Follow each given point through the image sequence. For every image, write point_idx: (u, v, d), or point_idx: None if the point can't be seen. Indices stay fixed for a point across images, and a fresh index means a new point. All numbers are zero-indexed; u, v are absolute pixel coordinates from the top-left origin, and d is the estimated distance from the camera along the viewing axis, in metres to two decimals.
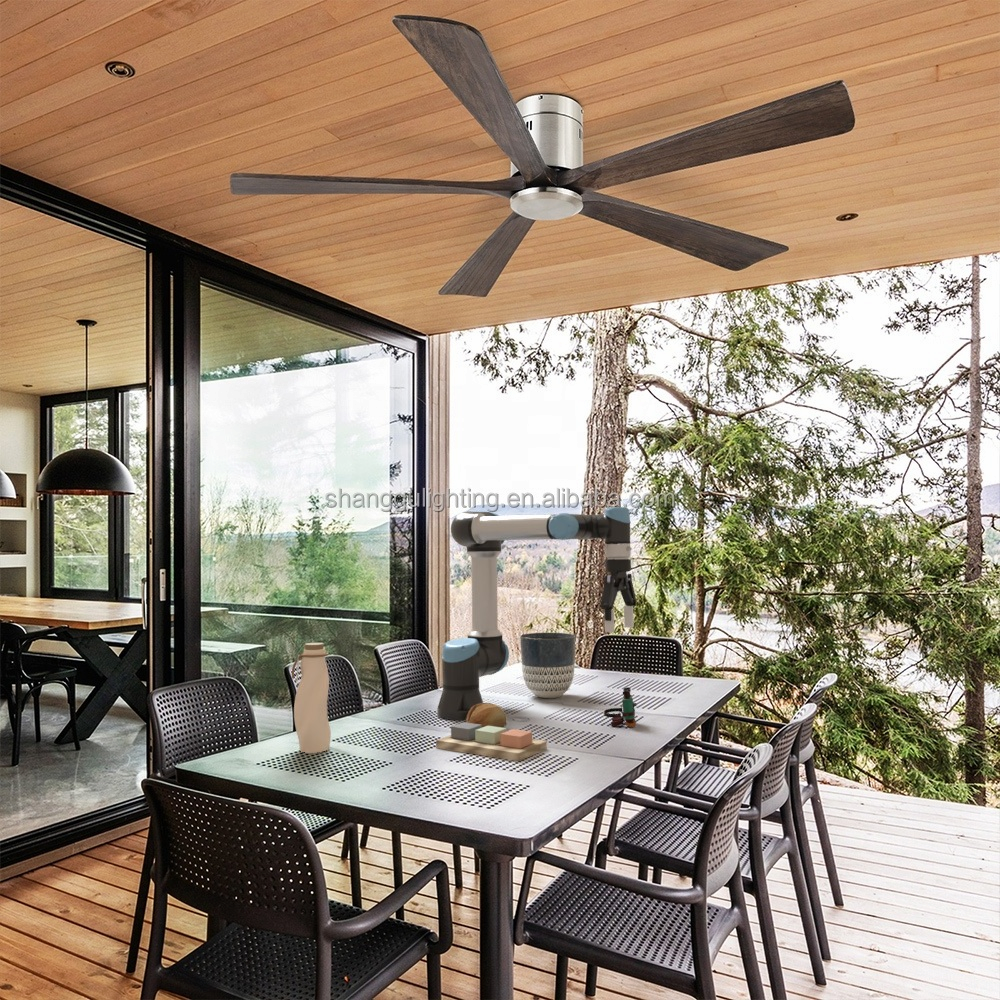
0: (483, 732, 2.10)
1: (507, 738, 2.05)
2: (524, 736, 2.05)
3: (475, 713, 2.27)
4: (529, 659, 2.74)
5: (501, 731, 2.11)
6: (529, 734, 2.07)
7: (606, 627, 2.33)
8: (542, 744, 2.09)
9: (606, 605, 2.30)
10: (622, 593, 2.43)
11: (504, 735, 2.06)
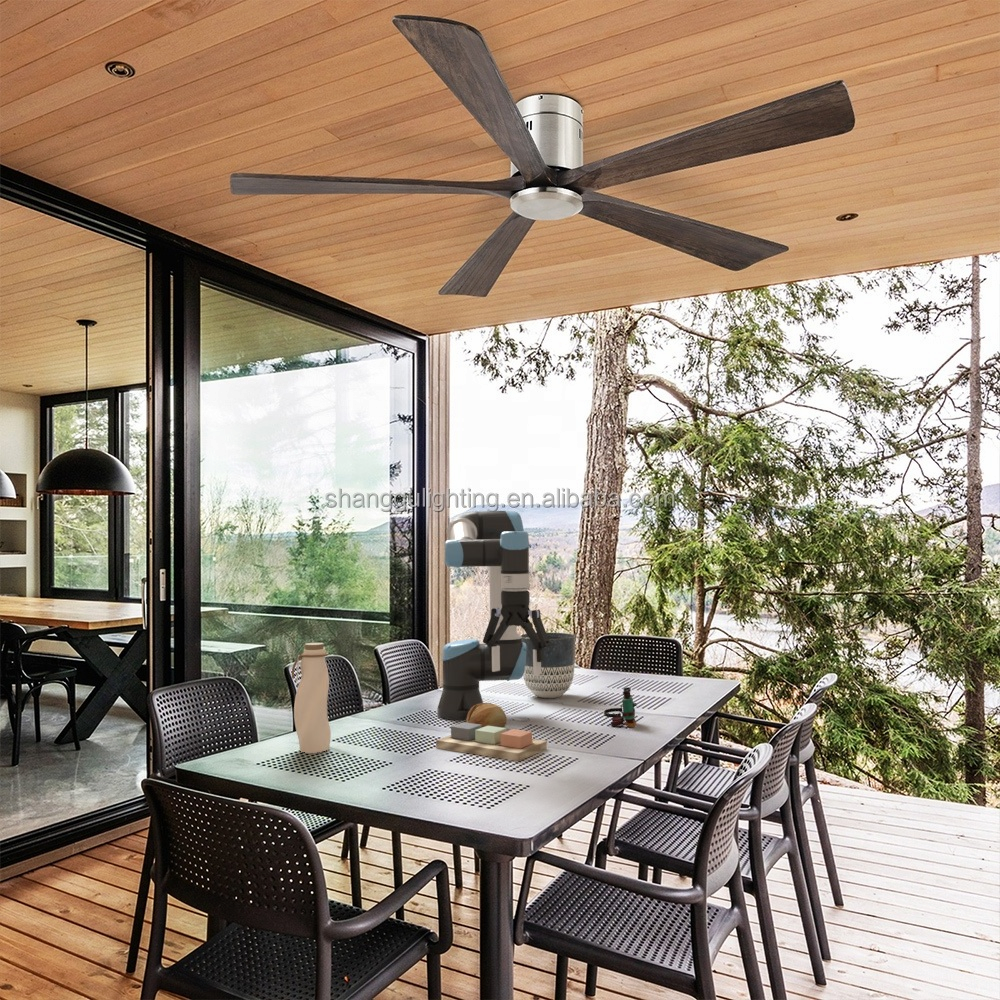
0: (483, 732, 2.10)
1: (507, 738, 2.05)
2: (524, 736, 2.05)
3: (475, 713, 2.27)
4: (529, 659, 2.74)
5: (501, 731, 2.11)
6: (529, 734, 2.07)
7: None
8: (542, 744, 2.09)
9: None
10: None
11: (504, 735, 2.06)
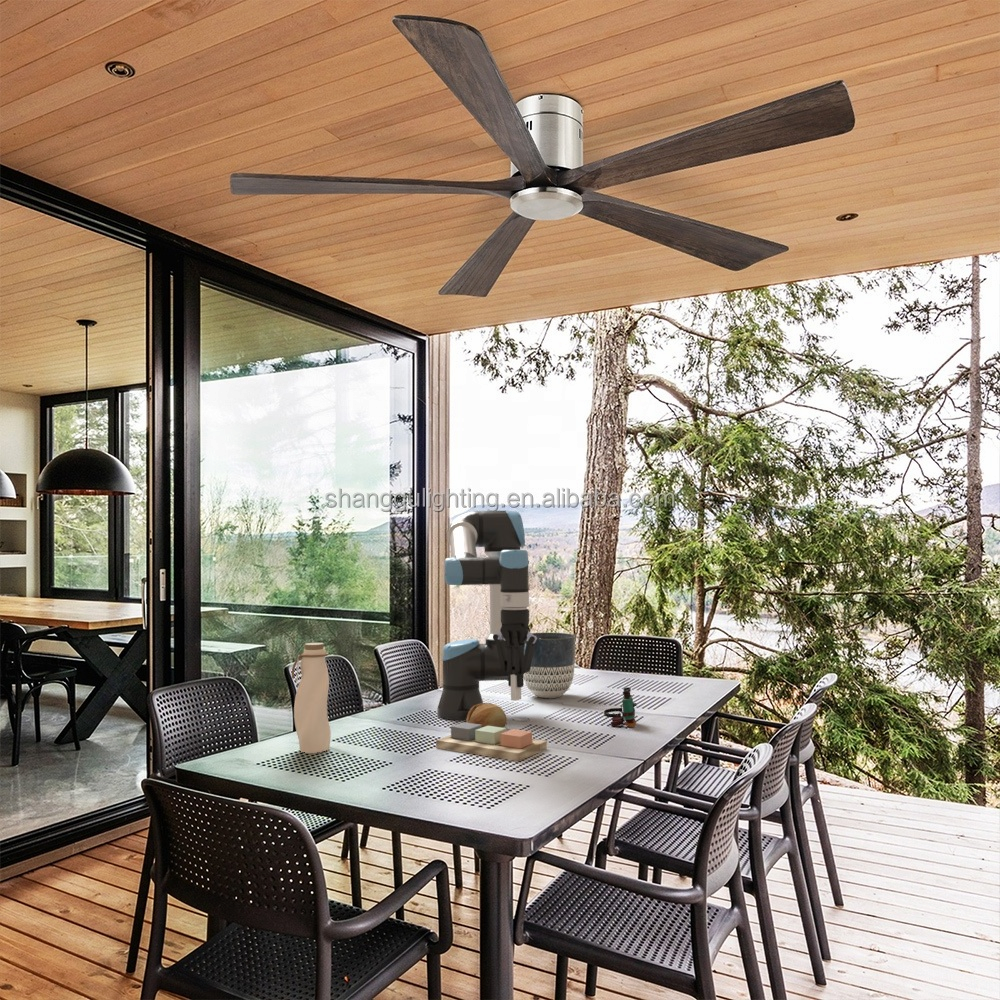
0: (483, 732, 2.10)
1: (507, 738, 2.05)
2: (524, 736, 2.05)
3: (475, 713, 2.27)
4: None
5: (501, 731, 2.11)
6: (529, 734, 2.07)
7: None
8: (542, 744, 2.09)
9: None
10: None
11: (504, 735, 2.06)
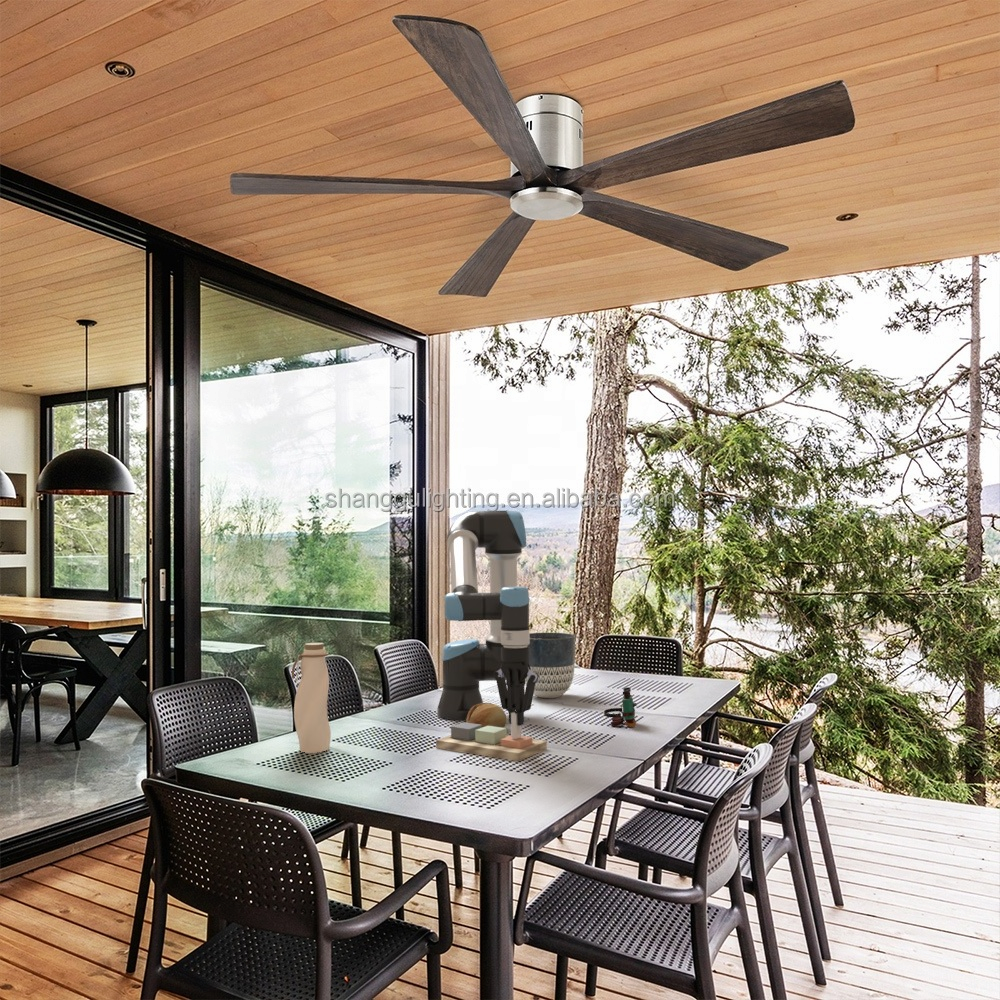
0: (483, 732, 2.10)
1: (507, 744, 2.05)
2: (524, 742, 2.05)
3: (475, 713, 2.27)
4: None
5: (501, 731, 2.11)
6: (529, 740, 2.07)
7: None
8: (542, 744, 2.09)
9: None
10: None
11: (504, 741, 2.06)
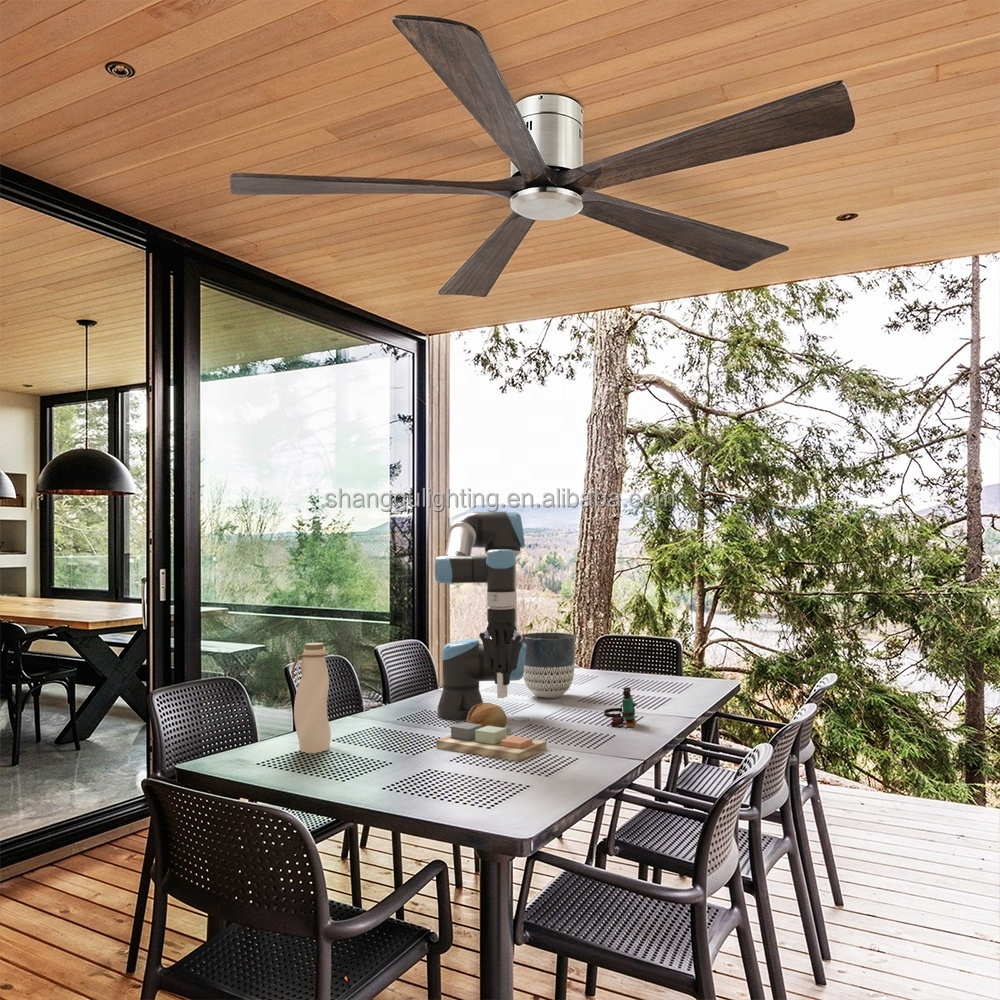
0: (483, 732, 2.10)
1: (507, 745, 2.05)
2: (524, 743, 2.05)
3: (475, 713, 2.27)
4: (529, 659, 2.74)
5: (501, 731, 2.11)
6: (529, 741, 2.07)
7: None
8: (542, 744, 2.09)
9: None
10: None
11: (504, 742, 2.06)
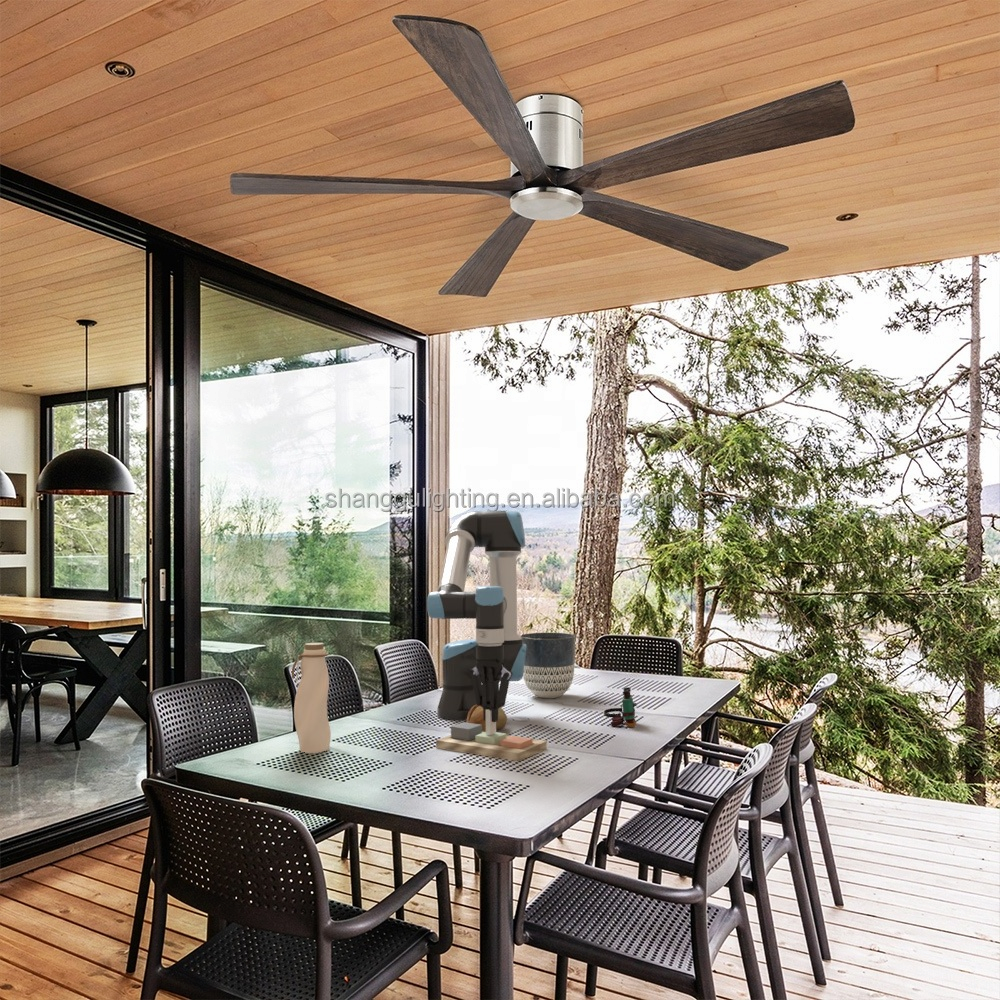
0: (483, 738, 2.10)
1: (507, 745, 2.05)
2: (524, 743, 2.05)
3: (475, 713, 2.27)
4: (529, 659, 2.74)
5: (501, 736, 2.11)
6: (529, 741, 2.07)
7: None
8: (542, 744, 2.09)
9: None
10: None
11: (504, 742, 2.06)
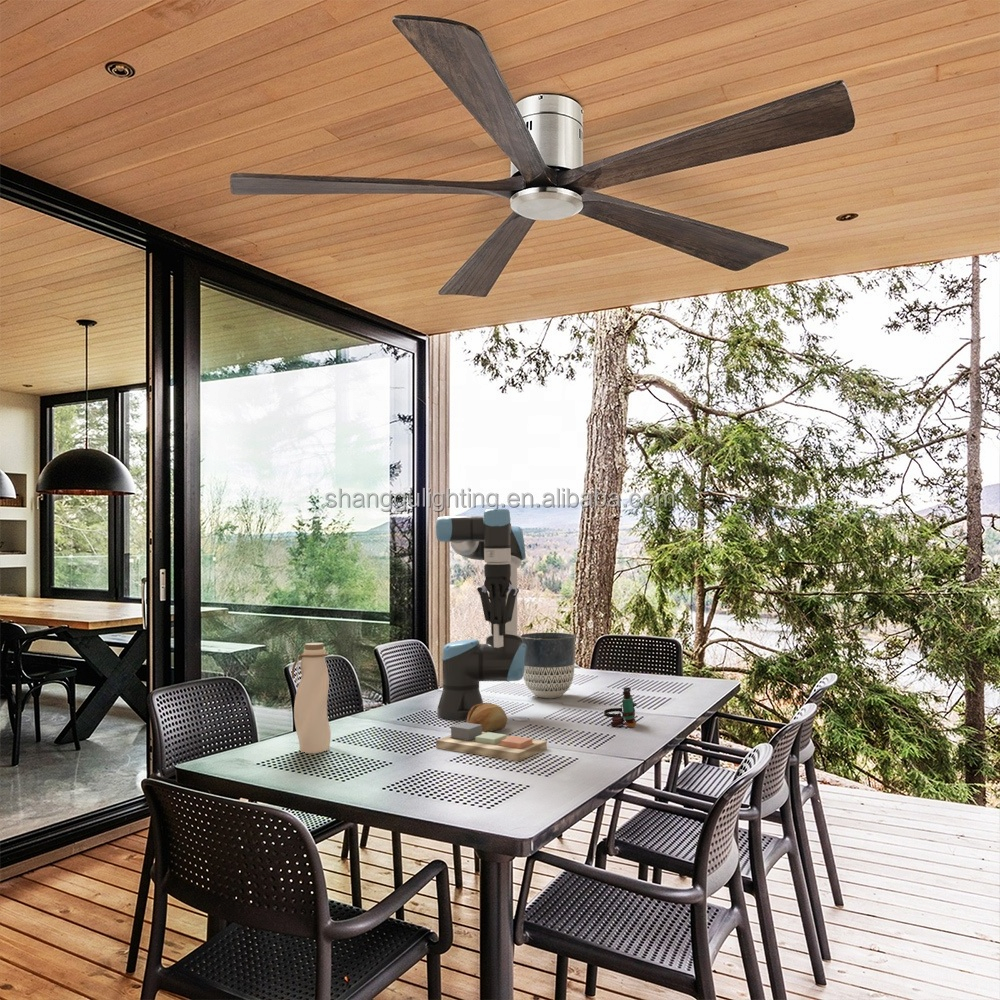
0: (483, 739, 2.09)
1: (507, 745, 2.05)
2: (524, 743, 2.05)
3: (475, 713, 2.27)
4: (529, 659, 2.74)
5: (501, 738, 2.11)
6: (529, 741, 2.07)
7: None
8: (542, 744, 2.09)
9: None
10: None
11: (504, 742, 2.06)
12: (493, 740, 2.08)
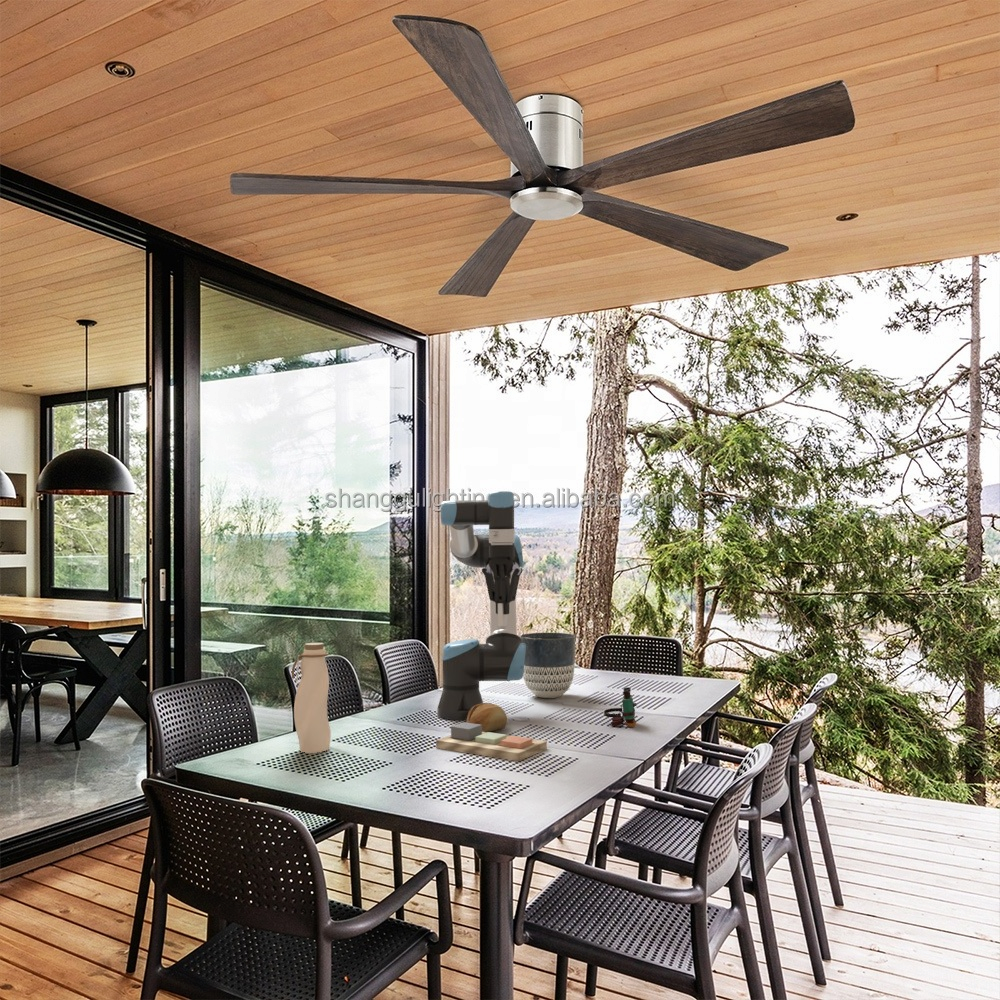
0: (483, 739, 2.09)
1: (507, 745, 2.05)
2: (524, 743, 2.05)
3: (475, 713, 2.27)
4: (529, 659, 2.74)
5: (501, 738, 2.11)
6: (529, 741, 2.07)
7: None
8: (542, 744, 2.09)
9: None
10: None
11: (504, 742, 2.06)
12: (493, 740, 2.08)
